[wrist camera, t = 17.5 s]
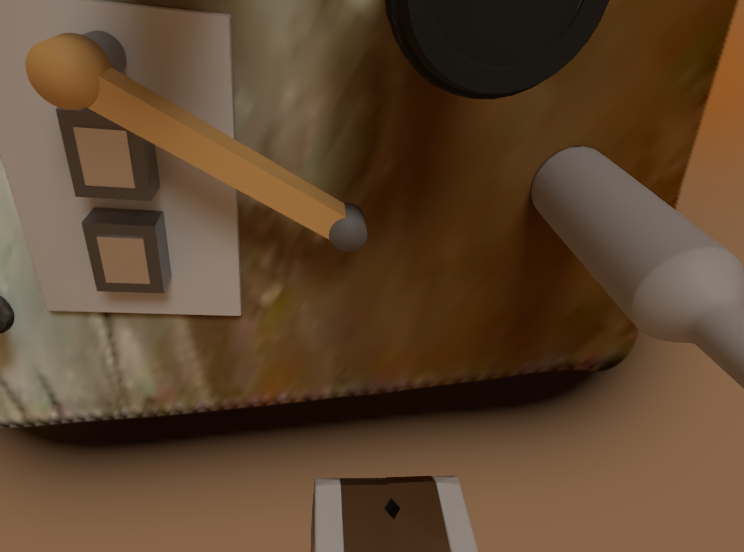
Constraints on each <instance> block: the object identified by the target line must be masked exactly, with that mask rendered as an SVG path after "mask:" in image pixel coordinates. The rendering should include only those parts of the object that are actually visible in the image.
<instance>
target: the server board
mask: <svg viewBox="0 0 744 552" xmlns="http://www.w3.org/2000/svg"><path fill="white" fill-rule="evenodd" d="M63 33H77V34H81V35H84V36H86V37H88V38H90V39H91V40H93V41H94V42H96V43H97V44H98V45H99V46H100V47H101V48H102V49H103V50H104V52H105V53H106V54H107V56H108V58H109V60H110V62H111V65H112V68H114V69H115V70H117V71H119V72H120V73H122V74H124V75H125V76H127V77H129V78H131V79H132V80H134V81H136V82H137V83H139V84H141V85H143V86H144V87H146V88H148V89H149V90H151V91H153V92H155V93H156V94H158V95H160V96H161V97H163V98H165V99H167V100H168V101H170V102H172V103H173V104H175V105H177V106H178V107H180V108H182V109H184V110H185V111H187V112H189V113H190V114H192V115H194V116H196V117H197V118H199V119H201V120H202V121H204V122H206V123H208V124H209V125H211V126H213V127H214V128H216V129H218V130H220V131H221V132H223V133H225V134H226V135H228V136H230V137H231V138H233V139H235V140H236V131H235V104H234V78H233V51H232V25H231V14H223V13H214V12H204V11H195V10H186V9H177V8H168V7H158V6H149V5H140V4H131V3H121V2H112V1H103V0H0V156H1V159H2V162H3V166H4V169H5V172H6V175H7V179H8V182H9V185H10V189H11V192H12V195H13V199H14V202H15V205H16V209H17V212H18V215H19V219H20V222H21V225H22V229H23V232H24V235H25V239H26V242H27V245H28V249H29V252H30V255H31V259H32V262H33V265H34V269H35V272H36V275H37V279H38V282H39V285H40V288H41V292H42V295H43V298H44V302H45V305H46V308H47V311H80V312H116V313H153V314H189V315H226V316H241V313H242V289H241V263H240V236H239V210H238V190H237V189H235V188H234V187H232V186H230V185H228V184H226V183H224V182H223V181H221V180H219V179H217V178H215V177H213V176H212V175H210V174H208V173H206V172H204V171H202V170H201V169H199V168H197V167H195V166H193V165H191V164H190V163H188V162H186V161H184V160H182V159H180V158H178V157H177V156H175V155H173V154H171V153H169V152H167V151H166V150H164V149H162V148H160V147H158V146H156V145H155V149H156V157H157V165H158V172H159V180H160V188H159V190H158V191H157V193H156V195H155V196H154V198H153V199H152V201H140V200H123V199H105V198H88V197H75V192H74V188H73V184H72V179H71V175H70V171H69V166H68V162H67V157H66V153H65V149H64V144H63V140H62V135H61V131H60V127H59V122H58V118H57V113H56V108H58V107H56V106H54V105H52V104H51V103H49V102H47V101H46V100H45V99H43V98H42V97H41V96H40V95H39V94H38V93H37V92H36V91H35V89H34V88H33V86H32V85H31V83H30V81H29V79H28V76H27V73H26V67H25V63H26V57H27V54H28V52H29V50H30V49H31V48H32V47H33V46H34V45H35V44H37V43H39V42H41V41H43V40H46V39H49V38H52V37H54V36H57V35H60V34H63ZM94 207H99V208H117V209H136V210H154V211H163V212H164V220H165V227H166V235H167V243H168V251H169V259H170V267H171V275H172V277H171V279H170V281H169V284H168V286H167V288H166V291H165V293H134V292H104V291H97V289H96V285H95V280H94V276H93V271H92V267H91V263H90V258H89V254H88V250H87V245H86V241H85V236H84V232H83V228H82V223H81V222H82V221H83V220H84V219H85V218H86V216H87V215H88V214H89V213H90V212H91V210H92V209H93V208H94Z"/></svg>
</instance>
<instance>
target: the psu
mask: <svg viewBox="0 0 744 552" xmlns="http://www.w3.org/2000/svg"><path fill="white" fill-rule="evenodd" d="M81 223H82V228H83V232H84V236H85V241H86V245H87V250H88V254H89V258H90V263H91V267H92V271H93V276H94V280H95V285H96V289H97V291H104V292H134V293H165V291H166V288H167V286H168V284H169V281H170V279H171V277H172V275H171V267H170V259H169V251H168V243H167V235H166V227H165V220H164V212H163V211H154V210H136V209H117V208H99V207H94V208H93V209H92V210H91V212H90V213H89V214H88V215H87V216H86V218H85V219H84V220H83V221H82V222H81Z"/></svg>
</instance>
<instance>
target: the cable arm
mask: <svg viewBox="0 0 744 552" xmlns="http://www.w3.org/2000/svg"><path fill="white" fill-rule="evenodd" d="M25 67H26V73H27V76H28V79H29V81H30V83H31V85H32V86H33V88H34V89H35V91H36V92H37V93H38V94H39V95H40V96H41V97H42V98H43V99H45V100H46V101H47V102H49V103H51V104H52V105H54V106H56V107H59V108H62V109H67V110H78V109H82V108H85V107H87V108H89V109H90V110H92V111H94V112H96V113H98V114H100V115H101V116H103V117H105V118H107V119H109V120H111V121H112V122H114V123H116V124H118V125H120V126H122V127H123V128H125V129H127V130H129V131H131V132H133V133H134V134H136V135H138V136H140V137H142V138H144V139H145V140H147V141H149V142H151V143H153V144H155V145H156V146H158V147H160V148H162V149H164V150H166V151H167V152H169V153H171V154H173V155H175V156H177V157H178V158H180V159H182V160H184V161H186V162H188V163H190V164H191V165H193V166H195V167H197V168H199V169H201V170H202V171H204V172H206V173H208V174H210V175H212V176H213V177H215V178H217V179H219V180H221V181H223V182H224V183H226V184H228V185H230V186H232V187H234V188H235V189H237V190H239V191H241V192H243V193H245V194H246V195H248V196H250V197H252V198H254V199H256V200H257V201H259V202H261V203H263V204H265V205H267V206H268V207H270V208H272V209H274V210H276V211H278V212H279V213H281V214H283V215H285V216H287V217H289V218H290V219H292V220H294V221H296V222H298V223H300V224H301V225H303V226H305V227H307V228H309V229H311V230H312V231H314V232H316V233H318V234H320V235H322V236H324V237H325V238H327V239H329V240H330V242H331V244H332V245H333V246H334V247H335V248H336V249H338V250H340V251H344V252H352V251H355V250H358V249H359V248H361V247H362V246H363V245H364V243H365V242H366V239H367V229H366V224H365V218H364V214H363V212H362V210H361V209H360V208H359V207H358V206H357V205H355V204H352V203H343V202H341V201H339V200H337V199H336V198H334V197H332V196H331V195H329V194H327V193H325V192H324V191H322V190H320V189H319V188H317V187H315V186H314V185H312V184H310V183H308V182H307V181H305V180H303V179H302V178H300V177H298V176H296V175H295V174H293V173H291V172H290V171H288V170H286V169H284V168H283V167H281V166H279V165H278V164H276V163H274V162H273V161H271V160H269V159H267V158H266V157H264V156H262V155H261V154H259V153H257V152H255V151H254V150H252V149H250V148H249V147H247V146H245V145H243V144H242V143H240V142H238V141H237V140H235V139H233V138H231V137H230V136H228V135H226V134H225V133H223V132H221V131H220V130H218V129H216V128H214V127H213V126H211V125H209V124H208V123H206V122H204V121H202V120H201V119H199V118H197V117H196V116H194V115H192V114H190V113H189V112H187V111H185V110H184V109H182V108H180V107H178V106H177V105H175V104H173V103H172V102H170V101H168V100H167V99H165V98H163V97H161V96H160V95H158V94H156V93H155V92H153V91H151V90H149V89H148V88H146V87H144V86H143V85H141V84H139V83H137V82H136V81H134V80H132V79H131V78H129V77H127V76H125V75H124V74H122V73H120V72H119V71H117V70H115V69H114V68H112V65H111V62H110V60H109V58H108V56H107V54H106V53H105V52H104V50H103V49H102V48H101V47H100V46H99V45H98V44H97V43H96V42H94V41H93V40H91V39H90V38H88V37H86V36H84V35H81V34H77V33H63V34H60V35H57V36H54V37H52V38H49V39H46V40H43V41H41V42H39V43H37V44H35V45H34V46H33V47H32V48H31V49H30V50H29V52H28V54H27V57H26V63H25Z"/></svg>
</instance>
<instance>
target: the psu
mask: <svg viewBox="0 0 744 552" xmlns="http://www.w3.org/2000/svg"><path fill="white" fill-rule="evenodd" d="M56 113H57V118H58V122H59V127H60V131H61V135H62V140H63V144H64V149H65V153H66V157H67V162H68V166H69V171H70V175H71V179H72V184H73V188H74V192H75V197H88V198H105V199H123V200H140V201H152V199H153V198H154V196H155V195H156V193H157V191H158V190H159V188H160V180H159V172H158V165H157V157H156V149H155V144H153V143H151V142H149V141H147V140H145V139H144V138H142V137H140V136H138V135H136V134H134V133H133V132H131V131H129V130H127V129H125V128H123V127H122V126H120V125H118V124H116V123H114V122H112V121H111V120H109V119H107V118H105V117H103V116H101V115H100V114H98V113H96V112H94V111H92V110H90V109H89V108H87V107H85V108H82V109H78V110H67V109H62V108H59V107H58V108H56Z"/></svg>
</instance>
